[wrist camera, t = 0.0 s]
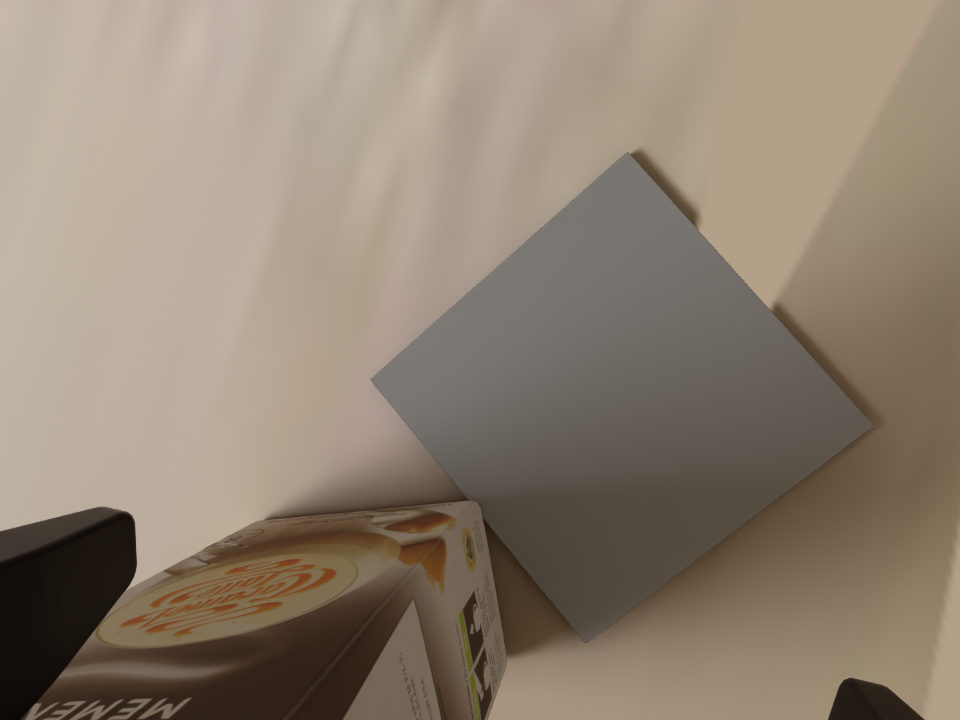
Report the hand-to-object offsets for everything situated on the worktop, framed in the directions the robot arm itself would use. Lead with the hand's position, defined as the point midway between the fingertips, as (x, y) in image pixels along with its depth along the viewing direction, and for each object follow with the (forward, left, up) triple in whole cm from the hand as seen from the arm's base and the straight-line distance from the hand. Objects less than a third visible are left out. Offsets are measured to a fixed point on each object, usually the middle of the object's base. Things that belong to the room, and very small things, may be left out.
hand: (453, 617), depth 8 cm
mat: (+3, 0, -15) cm, 16 cm away
